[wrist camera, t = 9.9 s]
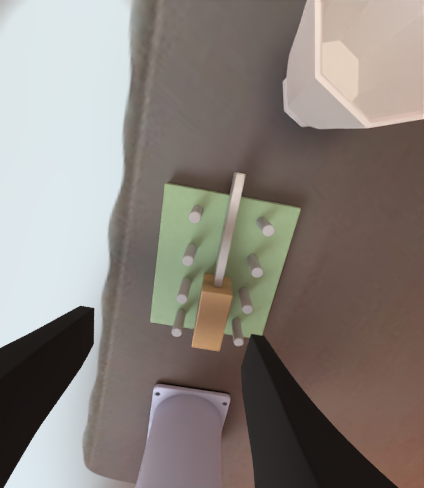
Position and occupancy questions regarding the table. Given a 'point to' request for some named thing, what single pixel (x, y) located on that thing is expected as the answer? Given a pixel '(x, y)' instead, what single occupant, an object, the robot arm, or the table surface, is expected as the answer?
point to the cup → (357, 64)
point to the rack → (205, 255)
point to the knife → (218, 281)
